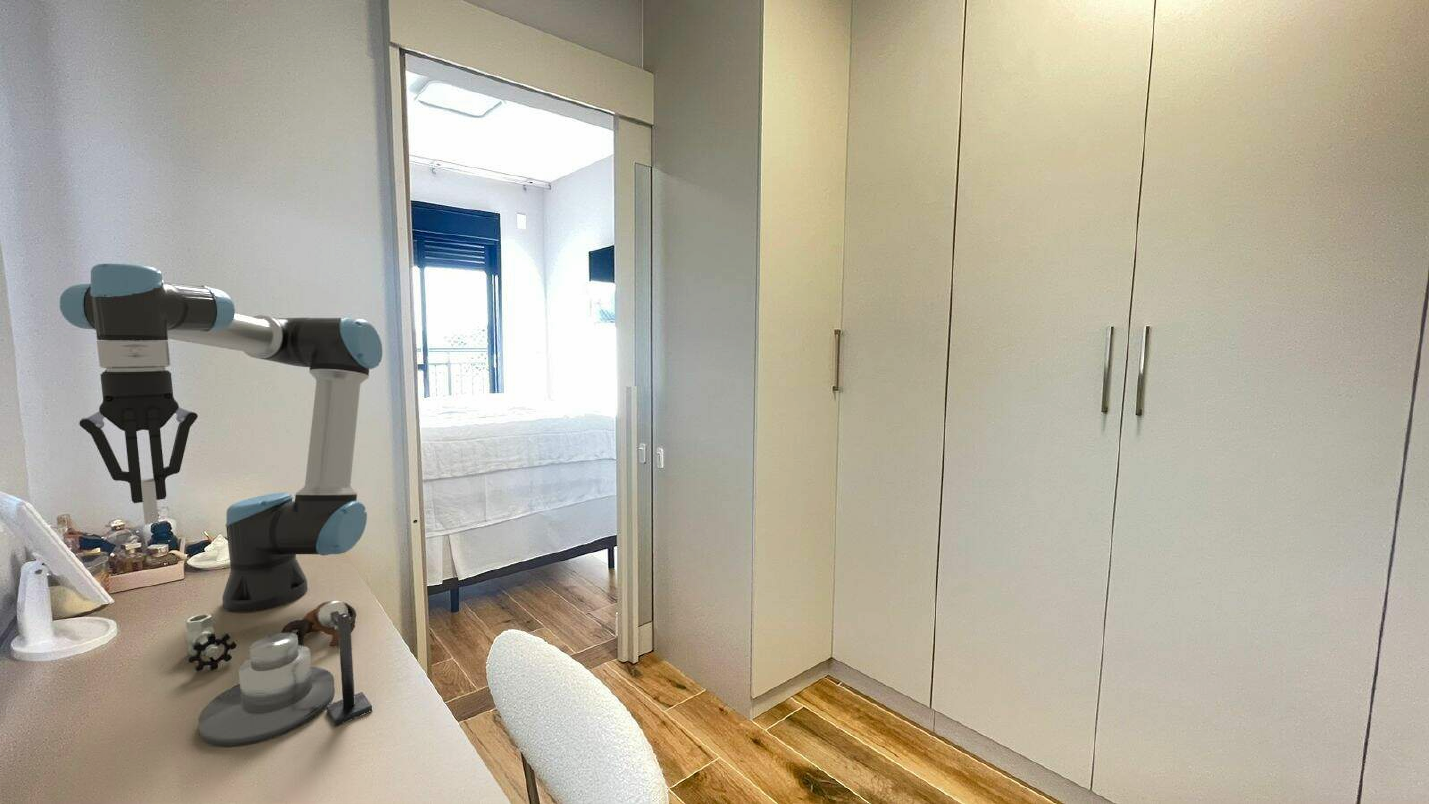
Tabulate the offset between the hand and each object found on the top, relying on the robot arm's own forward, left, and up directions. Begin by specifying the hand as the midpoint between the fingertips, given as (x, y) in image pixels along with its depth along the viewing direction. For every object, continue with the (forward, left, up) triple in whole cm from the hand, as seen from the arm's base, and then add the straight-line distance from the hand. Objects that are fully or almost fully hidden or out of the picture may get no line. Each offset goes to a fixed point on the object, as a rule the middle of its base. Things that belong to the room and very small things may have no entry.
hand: (151, 521), depth 89 cm
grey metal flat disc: (+13, +11, -30) cm, 35 cm away
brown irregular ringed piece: (-5, +22, -31) cm, 38 cm away
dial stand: (+20, +20, -30) cm, 41 cm away
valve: (-13, +6, -31) cm, 34 cm away
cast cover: (+13, +12, -28) cm, 34 cm away
